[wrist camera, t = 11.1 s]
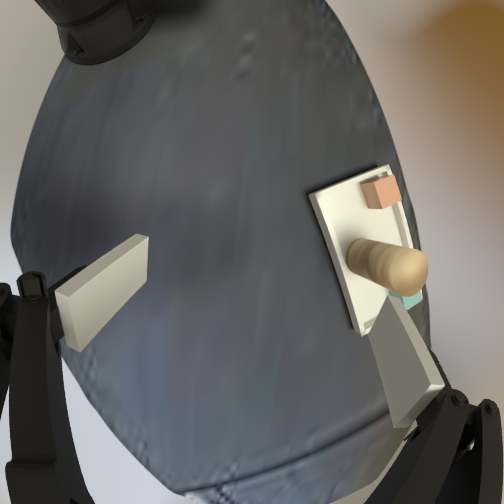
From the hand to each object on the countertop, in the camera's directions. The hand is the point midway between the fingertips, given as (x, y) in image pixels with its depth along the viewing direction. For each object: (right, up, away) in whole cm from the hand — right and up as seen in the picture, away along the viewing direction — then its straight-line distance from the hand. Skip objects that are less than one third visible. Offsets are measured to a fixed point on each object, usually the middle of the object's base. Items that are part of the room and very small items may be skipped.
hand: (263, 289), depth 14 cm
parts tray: (+16, +2, +23) cm, 28 cm away
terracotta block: (+16, +10, +21) cm, 28 cm away
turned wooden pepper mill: (+14, +1, +22) cm, 26 cm away
